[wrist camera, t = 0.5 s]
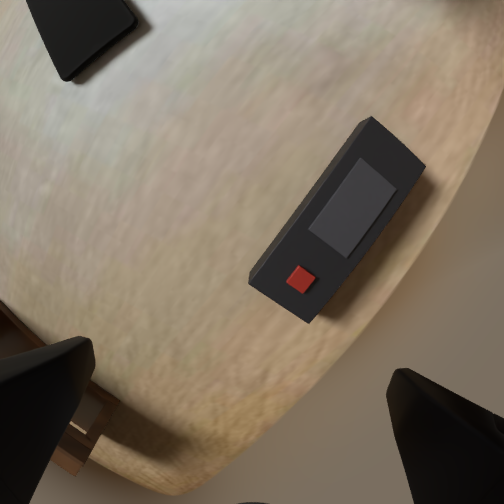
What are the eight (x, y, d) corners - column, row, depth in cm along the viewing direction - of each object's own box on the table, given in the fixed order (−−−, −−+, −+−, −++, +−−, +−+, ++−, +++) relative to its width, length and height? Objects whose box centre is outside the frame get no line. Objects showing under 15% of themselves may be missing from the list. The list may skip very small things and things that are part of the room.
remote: (359, 121, 17) (373, 114, 15) (410, 166, 18) (429, 166, 15) (249, 272, 20) (247, 285, 17) (304, 309, 20) (309, 326, 18)
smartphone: (79, -55, 12) (139, 21, 15) (83, -51, 13) (143, 26, 16) (21, -8, 13) (61, 84, 16) (26, -5, 14) (68, 86, 17)
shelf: (120, 400, 23) (84, 463, 15) (99, 433, 24) (69, 487, 17) (-7, 293, 21) (-62, 325, 13) (-13, 339, 23) (-58, 373, 15)
